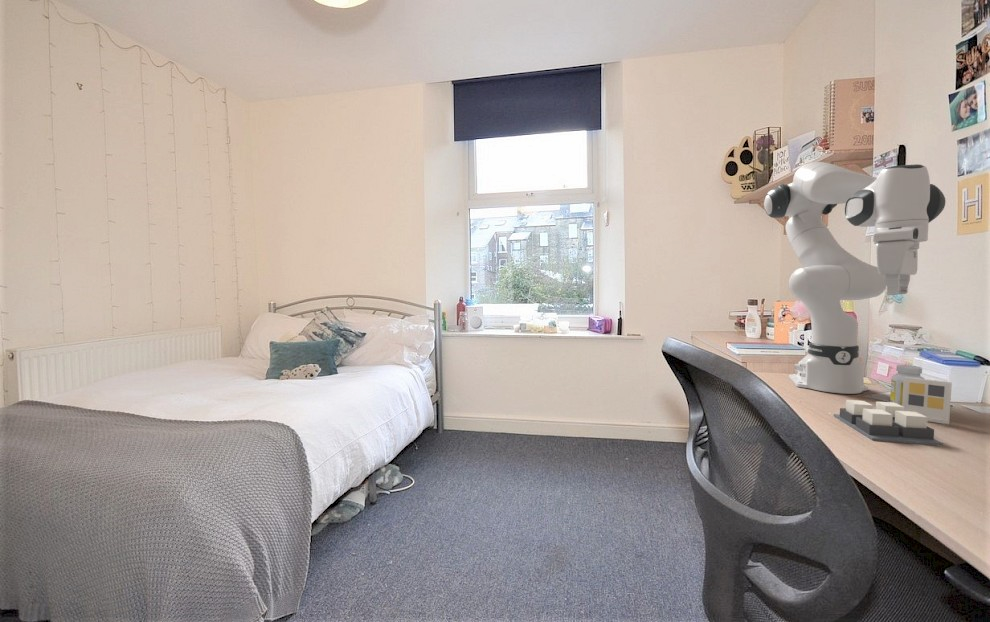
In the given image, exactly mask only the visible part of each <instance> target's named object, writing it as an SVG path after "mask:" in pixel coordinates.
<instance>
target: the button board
mask: <svg viewBox="0 0 990 622" xmlns="http://www.w3.org/2000/svg"><path fill="white" fill-rule="evenodd" d="M833 417H834V418H836V419H838V420H840V422H842V423H844V424H846V425H847V426H849V427H851V428H852V429H854V430H856V431H857V432H858V433H860V434H861V435H863V436H865V437H866V438H868V439H869V440H871V441H878V442H879V441H880V442H891V443H892V442H893V443H903V444H917V445H929V446H931V445H932V446H944V443H943V442H941V441H939V440H937V439H935V438H934V436H935V428H932V427H930V426H928V425H927V429H926V428H912V427H904V426H902V425H900V424H898V423H896V422H895V417H893V419H892V426H884V425H871V424H869V423H867V422H865V421H864V420H862V417H863V415H854V414H851V413H850V412H848V411H846V407H840V408H839V414H837V413H834V414H833Z"/></svg>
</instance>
